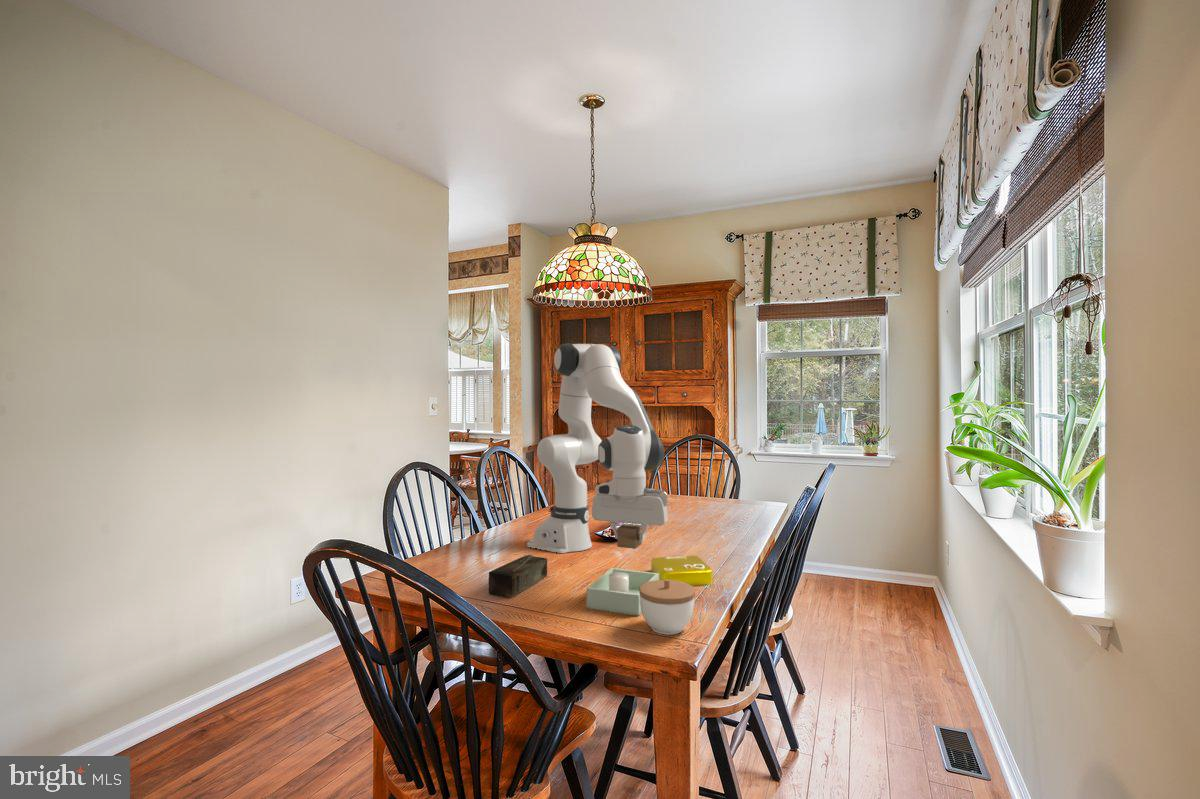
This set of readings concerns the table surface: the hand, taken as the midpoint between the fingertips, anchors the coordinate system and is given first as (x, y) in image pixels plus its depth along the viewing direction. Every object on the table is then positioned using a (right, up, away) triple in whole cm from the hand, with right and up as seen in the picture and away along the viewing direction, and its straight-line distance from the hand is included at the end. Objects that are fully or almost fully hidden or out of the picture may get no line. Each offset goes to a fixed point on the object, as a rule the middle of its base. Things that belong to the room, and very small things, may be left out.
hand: (629, 539), depth 154 cm
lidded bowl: (+7, -15, -21) cm, 27 cm away
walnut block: (0, -2, 0) cm, 2 cm away
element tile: (+16, -15, +15) cm, 26 cm away
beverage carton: (-30, -15, +8) cm, 35 cm away
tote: (-2, -15, -3) cm, 15 cm away
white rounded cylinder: (-3, -14, -7) cm, 16 cm away
